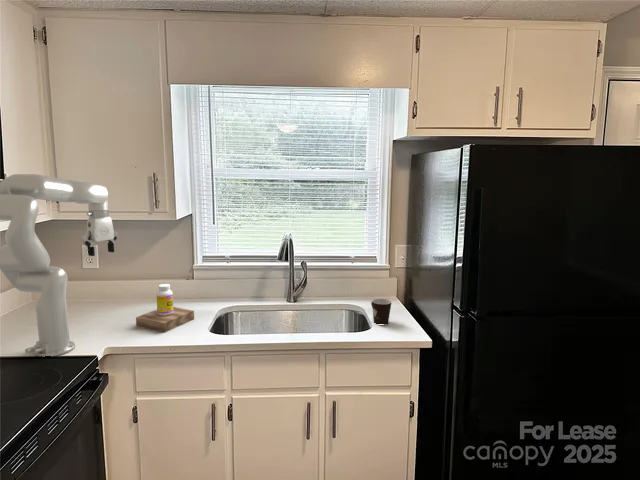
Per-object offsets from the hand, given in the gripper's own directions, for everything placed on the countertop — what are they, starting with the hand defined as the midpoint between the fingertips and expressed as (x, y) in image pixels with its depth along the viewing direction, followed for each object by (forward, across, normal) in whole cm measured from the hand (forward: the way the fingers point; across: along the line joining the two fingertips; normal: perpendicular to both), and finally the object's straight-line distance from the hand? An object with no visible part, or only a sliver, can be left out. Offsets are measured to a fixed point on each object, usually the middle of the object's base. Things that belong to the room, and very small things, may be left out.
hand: (101, 253), depth 184 cm
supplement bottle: (+26, +10, -25) cm, 38 cm away
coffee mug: (+31, +53, -110) cm, 126 cm away
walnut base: (+30, +10, -25) cm, 41 cm away
